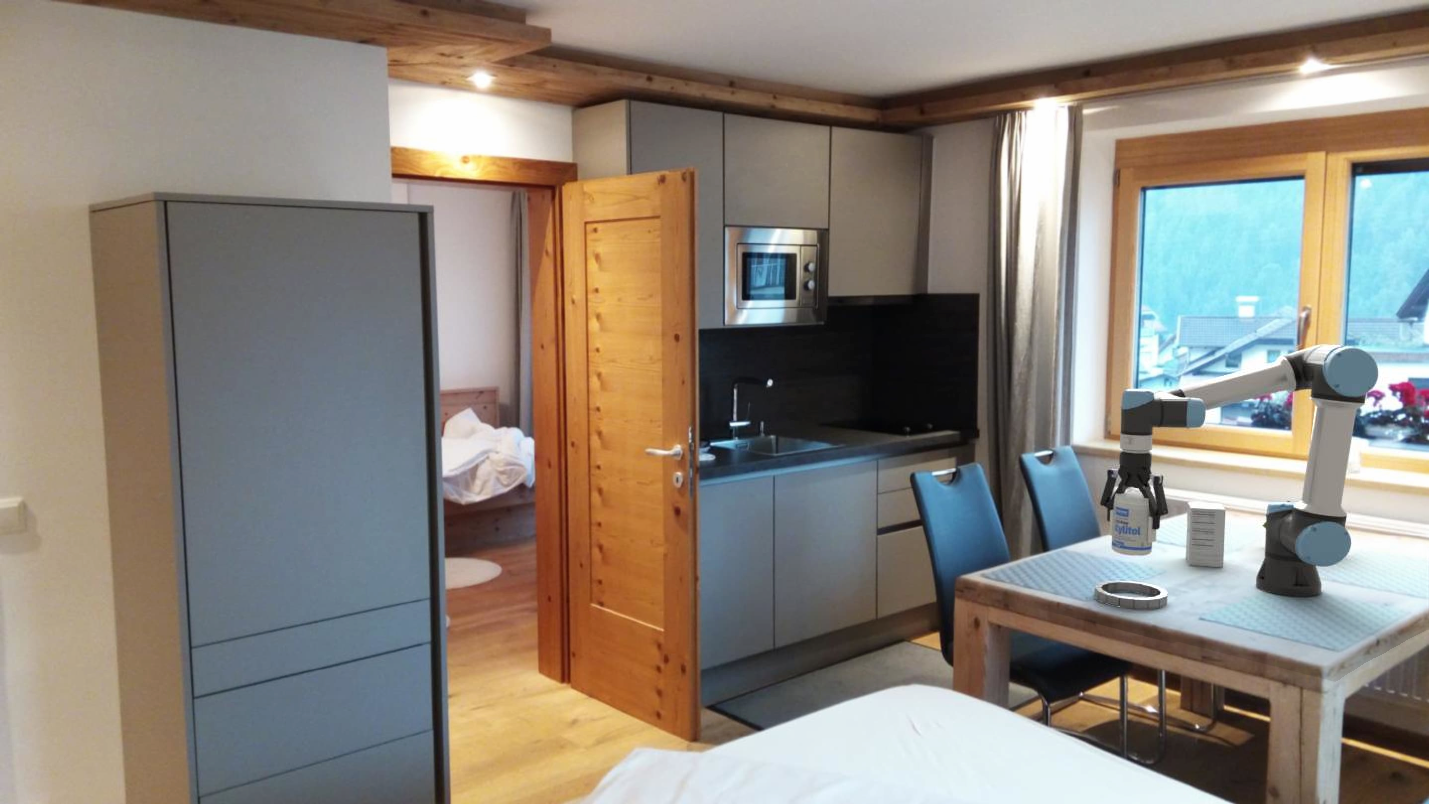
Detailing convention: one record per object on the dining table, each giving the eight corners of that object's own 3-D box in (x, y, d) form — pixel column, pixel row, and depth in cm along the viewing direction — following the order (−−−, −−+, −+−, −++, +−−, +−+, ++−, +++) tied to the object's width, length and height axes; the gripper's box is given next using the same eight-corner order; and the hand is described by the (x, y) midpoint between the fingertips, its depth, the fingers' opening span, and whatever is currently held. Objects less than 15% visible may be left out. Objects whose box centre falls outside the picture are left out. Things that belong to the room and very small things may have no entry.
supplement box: (1223, 568, 298) (1226, 509, 296) (1188, 565, 301) (1190, 507, 299) (1219, 560, 307) (1222, 503, 305) (1185, 557, 310) (1187, 501, 308)
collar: (1179, 600, 267) (1179, 590, 267) (1145, 613, 256) (1145, 603, 256) (1117, 586, 280) (1117, 577, 280) (1082, 598, 269) (1082, 588, 269)
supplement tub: (1110, 554, 265) (1112, 496, 263) (1112, 546, 273) (1114, 490, 272) (1151, 558, 261) (1154, 499, 259) (1153, 549, 269) (1155, 493, 268)
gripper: (1087, 447, 270) (1084, 532, 273) (1171, 457, 253) (1167, 548, 256) (1102, 444, 275) (1100, 528, 277) (1186, 454, 258) (1182, 543, 260)
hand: (1132, 538), depth 266 cm, fingers closed on supplement tub, 10 cm apart
